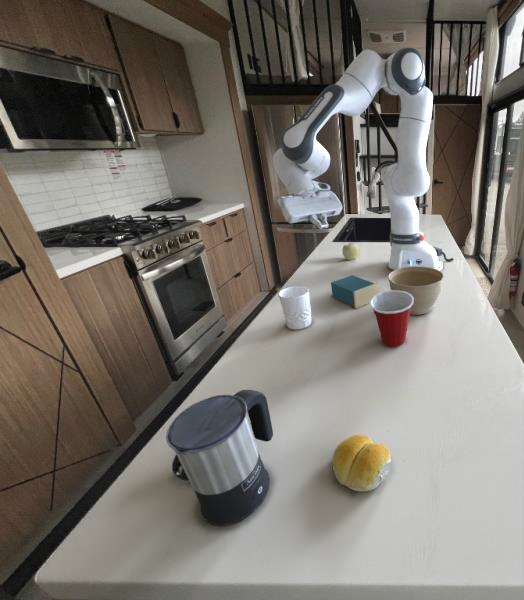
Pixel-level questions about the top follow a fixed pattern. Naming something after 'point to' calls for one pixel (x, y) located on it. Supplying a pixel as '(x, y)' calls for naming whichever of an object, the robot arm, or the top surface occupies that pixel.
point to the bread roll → (361, 463)
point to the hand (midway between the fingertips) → (324, 227)
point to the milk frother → (223, 454)
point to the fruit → (350, 251)
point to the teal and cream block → (354, 290)
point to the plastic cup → (392, 315)
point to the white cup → (296, 306)
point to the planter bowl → (418, 286)
